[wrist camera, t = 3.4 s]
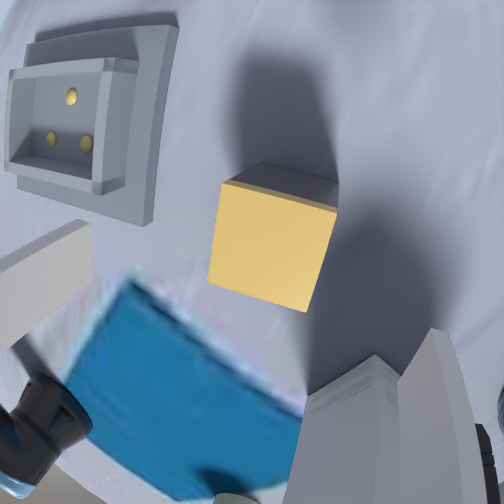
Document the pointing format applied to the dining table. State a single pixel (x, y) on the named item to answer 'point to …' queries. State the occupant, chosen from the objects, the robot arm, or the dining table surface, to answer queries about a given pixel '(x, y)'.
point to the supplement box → (350, 440)
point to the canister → (501, 413)
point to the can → (232, 499)
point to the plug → (273, 234)
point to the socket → (91, 119)
